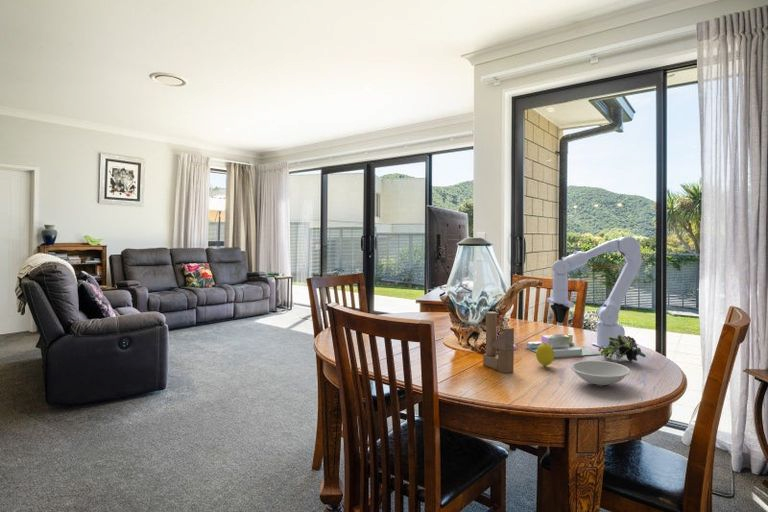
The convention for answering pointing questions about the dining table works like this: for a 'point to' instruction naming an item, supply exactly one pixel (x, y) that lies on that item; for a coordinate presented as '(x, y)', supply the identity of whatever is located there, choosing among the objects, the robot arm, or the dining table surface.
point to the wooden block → (498, 346)
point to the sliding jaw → (535, 344)
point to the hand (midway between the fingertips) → (559, 322)
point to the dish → (600, 371)
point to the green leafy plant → (622, 348)
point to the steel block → (556, 341)
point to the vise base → (584, 351)
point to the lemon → (545, 354)
